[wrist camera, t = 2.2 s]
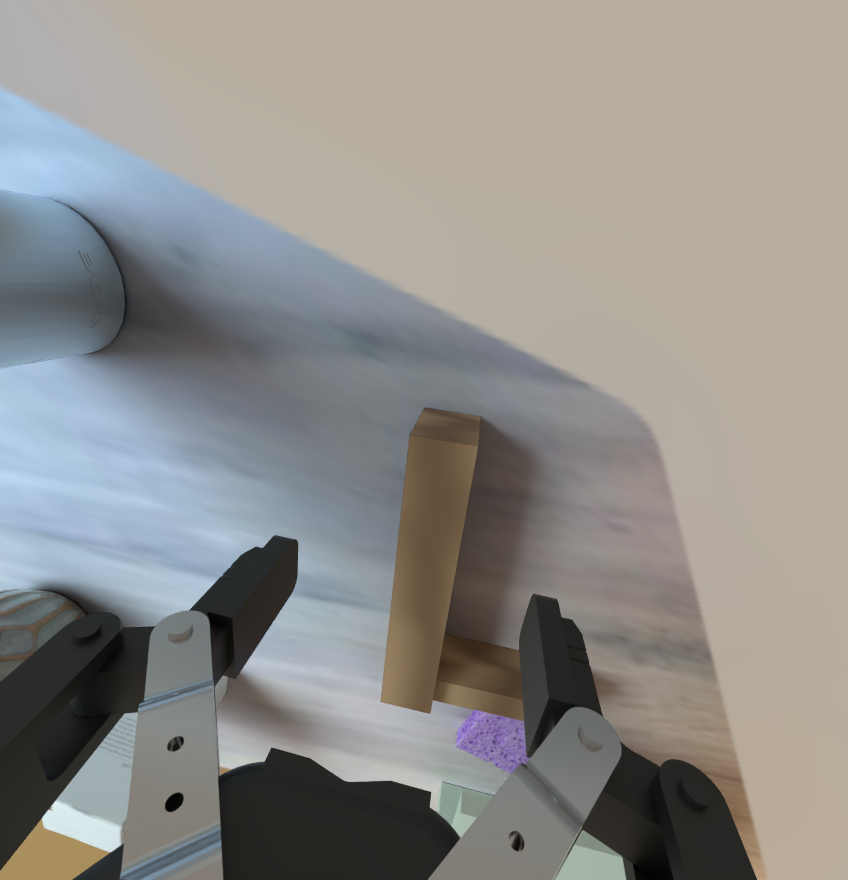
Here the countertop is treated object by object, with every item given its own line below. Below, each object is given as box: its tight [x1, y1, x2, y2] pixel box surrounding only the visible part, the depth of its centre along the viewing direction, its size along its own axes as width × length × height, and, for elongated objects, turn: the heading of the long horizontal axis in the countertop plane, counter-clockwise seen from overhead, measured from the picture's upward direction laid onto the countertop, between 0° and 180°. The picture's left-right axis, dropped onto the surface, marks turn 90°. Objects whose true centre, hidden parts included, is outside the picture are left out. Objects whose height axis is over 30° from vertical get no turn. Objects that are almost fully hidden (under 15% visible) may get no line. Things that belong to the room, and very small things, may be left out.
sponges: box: [455, 710, 530, 774], centre depth 34 cm, size 7×13×2 cm, turn 63°
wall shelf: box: [437, 782, 626, 880], centre depth 31 cm, size 15×16×9 cm
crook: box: [381, 408, 524, 721], centre depth 26 cm, size 14×20×5 cm
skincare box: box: [42, 676, 228, 852], centre depth 32 cm, size 6×4×12 cm
